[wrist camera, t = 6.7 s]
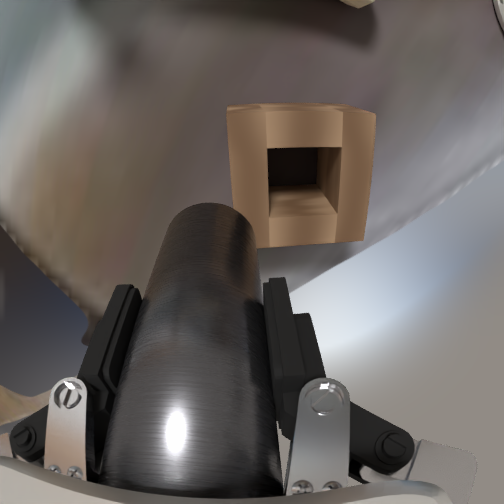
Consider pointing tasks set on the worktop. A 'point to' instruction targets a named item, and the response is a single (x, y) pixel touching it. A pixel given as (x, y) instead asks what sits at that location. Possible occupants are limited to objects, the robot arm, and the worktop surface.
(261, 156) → the socket block
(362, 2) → the hammer
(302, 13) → the worktop surface
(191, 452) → the dark grey capped cylinder
